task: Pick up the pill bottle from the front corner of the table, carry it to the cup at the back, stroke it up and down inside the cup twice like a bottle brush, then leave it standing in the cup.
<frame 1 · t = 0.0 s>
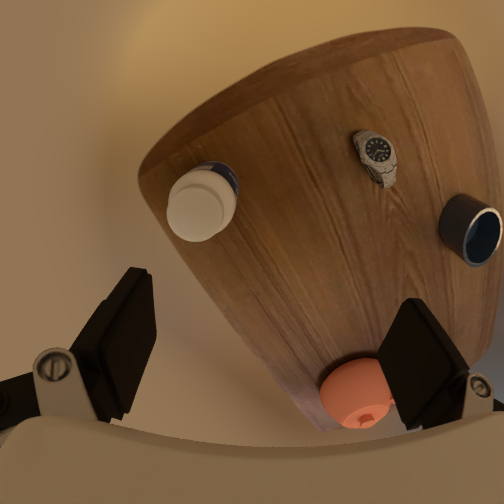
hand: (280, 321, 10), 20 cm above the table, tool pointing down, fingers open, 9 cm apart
pill bottle: (213, 185, 28), on the table
cup: (459, 221, 28), on the table
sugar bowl: (357, 372, 40), on the table
wristwatch: (365, 157, 26), on the table
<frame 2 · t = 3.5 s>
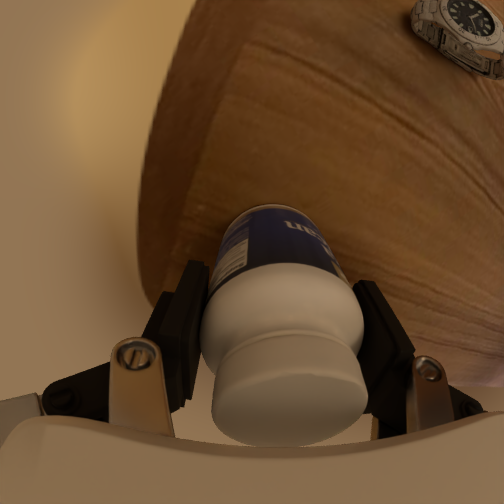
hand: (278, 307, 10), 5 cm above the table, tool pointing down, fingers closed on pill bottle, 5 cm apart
pill bottle: (271, 249, 15), on the table, touching gripper
wristwatch: (442, 46, 9), on the table
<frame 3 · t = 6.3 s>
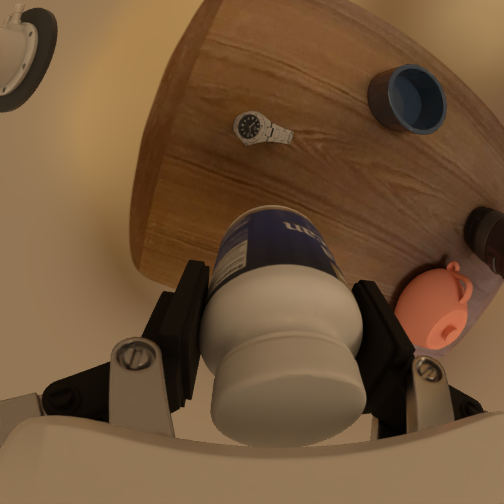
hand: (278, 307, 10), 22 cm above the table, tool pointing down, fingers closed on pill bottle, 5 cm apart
camera lens: (477, 226, 32), on the table
pill bottle: (271, 249, 15), point 17 cm above the table, touching gripper
cup: (395, 100, 25), on the table
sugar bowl: (424, 290, 37), on the table
wristwatch: (262, 130, 28), on the table
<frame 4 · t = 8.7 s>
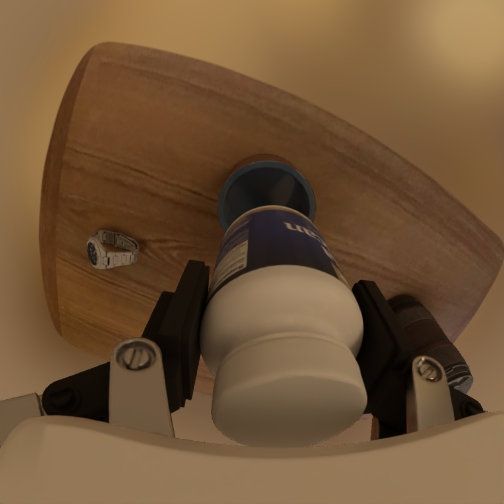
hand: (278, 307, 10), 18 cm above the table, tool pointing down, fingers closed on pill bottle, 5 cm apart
camera lens: (396, 314, 33), on the table
pill bottle: (271, 250, 15), point 13 cm above the table, touching gripper
cup: (264, 192, 26), on the table
wristwatch: (121, 240, 29), on the table
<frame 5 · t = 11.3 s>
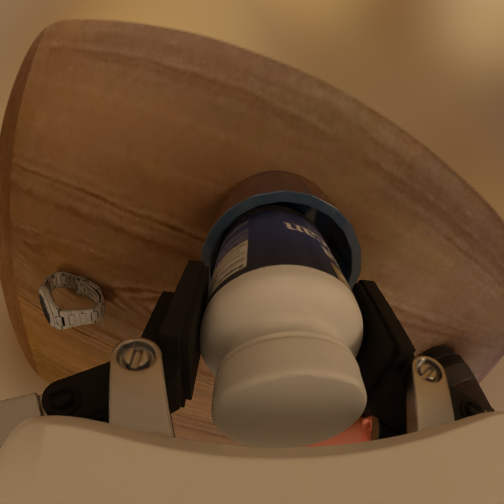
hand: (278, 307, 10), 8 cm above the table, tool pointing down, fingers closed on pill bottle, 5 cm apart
camera lens: (428, 365, 24), on the table
pill bottle: (271, 250, 15), point 3 cm above the table, touching gripper
cup: (276, 229, 18), on the table
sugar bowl: (338, 426, 29), on the table
wristwatch: (84, 285, 20), on the table
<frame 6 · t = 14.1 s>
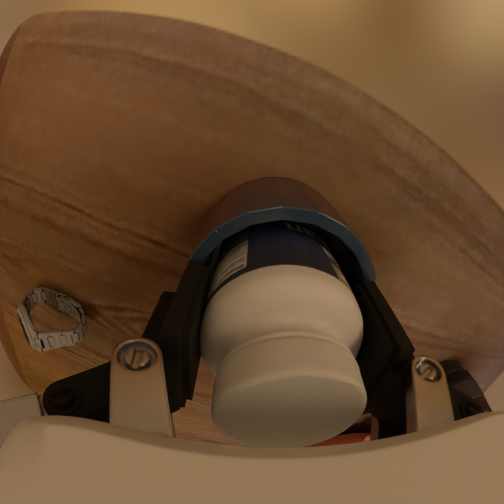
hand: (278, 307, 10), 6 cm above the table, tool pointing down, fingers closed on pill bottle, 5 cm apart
camera lens: (433, 380, 22), on the table
pill bottle: (271, 250, 15), point 1 cm above the table, touching gripper
cup: (273, 244, 15), on the table
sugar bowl: (339, 441, 27), on the table
wristwatch: (66, 301, 18), on the table
when the fingers open (6 cm above the table, at t = 14.2 s): pill bottle stays where it is, resting on cup.
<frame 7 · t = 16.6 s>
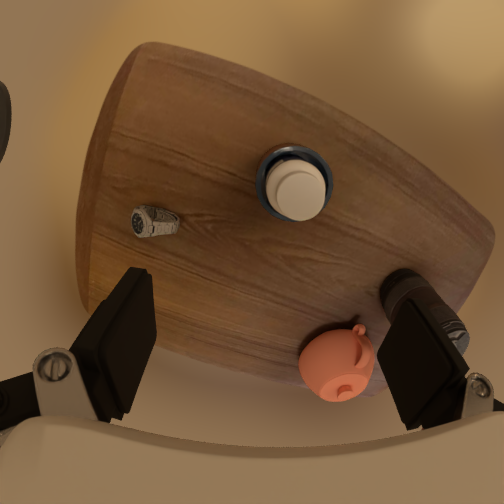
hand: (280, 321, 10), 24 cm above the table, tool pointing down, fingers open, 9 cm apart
camera lens: (399, 287, 38), on the table
pill bottle: (288, 176, 31), point 1 cm above the table, touching cup
cup: (289, 175, 31), on the table
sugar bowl: (335, 344, 42), on the table
wristwatch: (160, 214, 34), on the table
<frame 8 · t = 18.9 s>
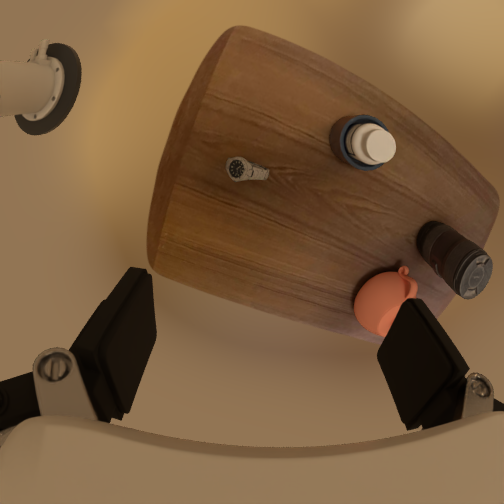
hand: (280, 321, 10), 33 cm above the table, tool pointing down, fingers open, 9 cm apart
camera lens: (430, 237, 44), on the table
pill bottle: (353, 140, 37), point 1 cm above the table, touching cup
cup: (353, 140, 37), on the table
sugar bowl: (381, 289, 49), on the table
wristwatch: (247, 167, 40), on the table
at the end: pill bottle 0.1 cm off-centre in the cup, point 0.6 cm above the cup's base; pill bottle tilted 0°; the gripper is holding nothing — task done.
